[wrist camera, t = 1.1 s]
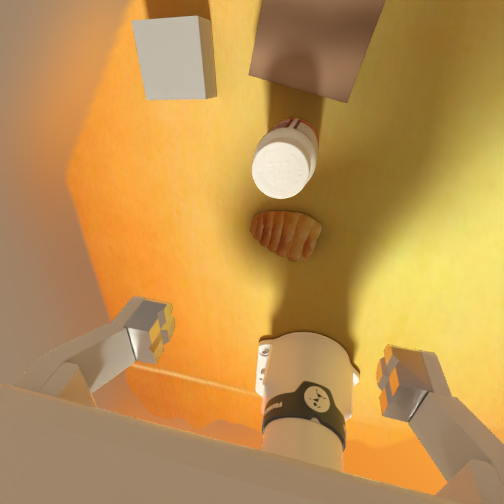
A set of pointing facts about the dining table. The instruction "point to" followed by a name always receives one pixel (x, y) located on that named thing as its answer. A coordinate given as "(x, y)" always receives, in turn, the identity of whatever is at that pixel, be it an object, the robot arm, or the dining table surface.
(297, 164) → the pill bottle
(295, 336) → the robot arm
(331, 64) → the walnut block
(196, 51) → the grey block
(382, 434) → the dining table surface
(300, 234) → the pastry
